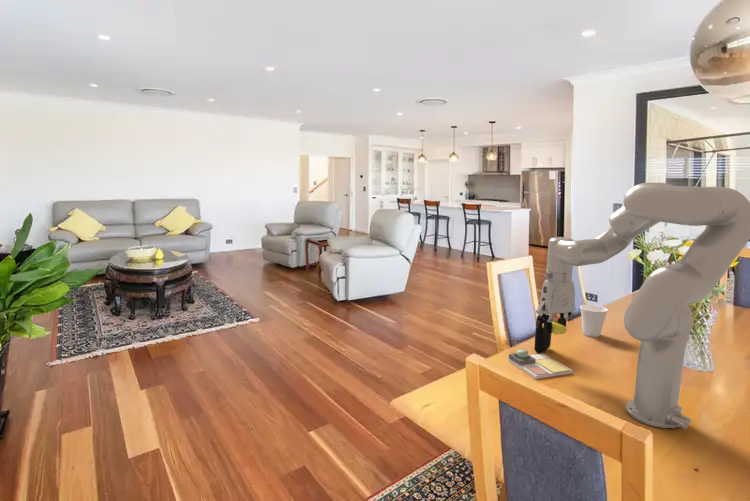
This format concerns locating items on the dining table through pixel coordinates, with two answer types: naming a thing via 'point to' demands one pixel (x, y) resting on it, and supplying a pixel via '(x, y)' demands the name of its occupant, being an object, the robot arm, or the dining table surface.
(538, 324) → the carrying case or bag
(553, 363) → the picture board
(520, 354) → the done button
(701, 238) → the robot arm
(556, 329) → the lemon
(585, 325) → the cup
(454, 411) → the dining table surface
